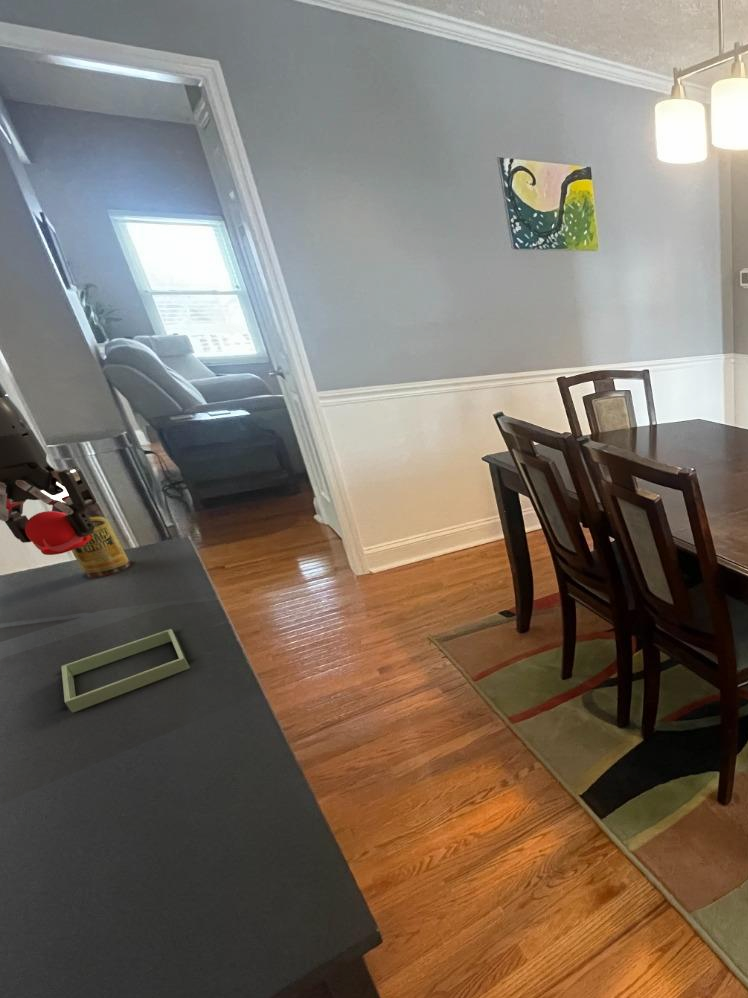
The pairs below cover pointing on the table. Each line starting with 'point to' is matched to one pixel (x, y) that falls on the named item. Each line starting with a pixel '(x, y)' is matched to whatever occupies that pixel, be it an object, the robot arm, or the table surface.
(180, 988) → the table surface
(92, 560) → the sauce bottle
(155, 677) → the frame
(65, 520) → the cap
